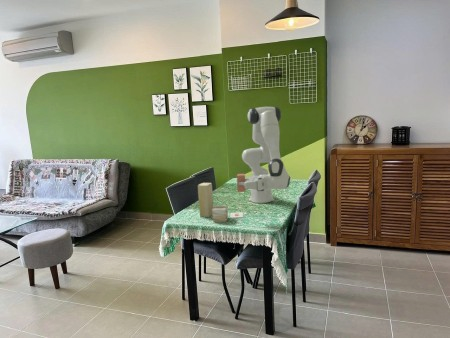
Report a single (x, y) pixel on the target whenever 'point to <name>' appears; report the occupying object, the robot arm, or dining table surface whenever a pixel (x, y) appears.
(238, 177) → the tall brick
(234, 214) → the page
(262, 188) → the robot arm
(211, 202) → the tall beige pillar
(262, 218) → the dining table surface
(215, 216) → the tower base
